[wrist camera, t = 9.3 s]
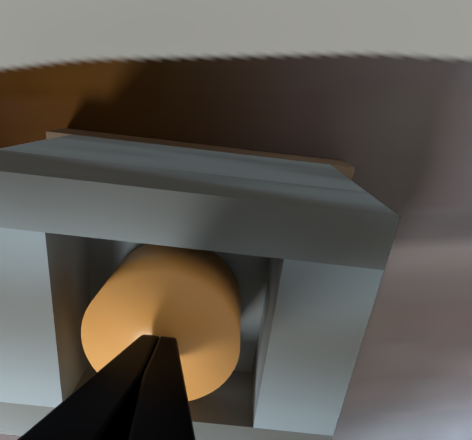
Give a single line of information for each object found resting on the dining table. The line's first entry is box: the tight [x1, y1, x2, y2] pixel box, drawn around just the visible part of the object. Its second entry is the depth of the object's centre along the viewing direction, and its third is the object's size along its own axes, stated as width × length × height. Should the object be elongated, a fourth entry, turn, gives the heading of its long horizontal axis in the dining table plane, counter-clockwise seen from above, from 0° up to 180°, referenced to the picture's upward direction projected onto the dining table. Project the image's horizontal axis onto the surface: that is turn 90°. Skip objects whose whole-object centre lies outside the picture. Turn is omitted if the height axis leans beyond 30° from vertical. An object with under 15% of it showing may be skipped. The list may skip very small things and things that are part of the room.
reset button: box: [81, 244, 241, 401], centre depth 9 cm, size 4×4×2 cm
